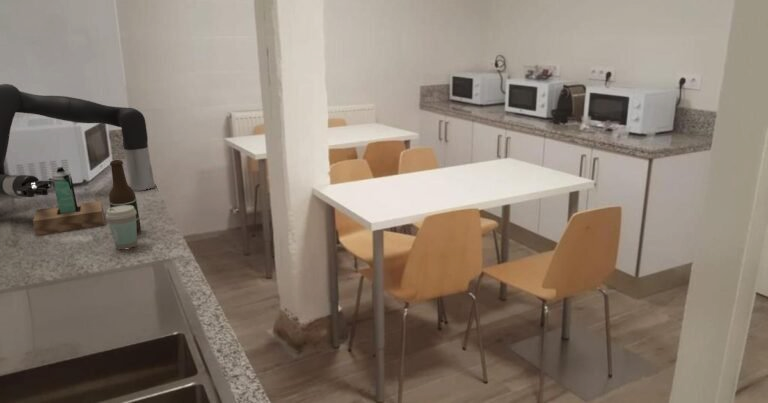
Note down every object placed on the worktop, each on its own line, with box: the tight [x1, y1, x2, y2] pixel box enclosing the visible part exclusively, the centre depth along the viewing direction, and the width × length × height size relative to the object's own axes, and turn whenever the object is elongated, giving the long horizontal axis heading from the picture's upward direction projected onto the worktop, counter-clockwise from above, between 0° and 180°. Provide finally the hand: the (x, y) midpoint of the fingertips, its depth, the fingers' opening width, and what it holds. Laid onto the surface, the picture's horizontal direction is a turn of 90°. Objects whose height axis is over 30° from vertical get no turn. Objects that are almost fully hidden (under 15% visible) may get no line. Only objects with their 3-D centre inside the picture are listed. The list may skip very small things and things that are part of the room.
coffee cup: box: [105, 205, 138, 250], centre depth 169 cm, size 8×8×12 cm
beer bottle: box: [108, 159, 142, 234], centre depth 179 cm, size 8×8×24 cm
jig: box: [32, 200, 105, 236], centre depth 192 cm, size 20×14×5 cm
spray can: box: [52, 166, 78, 214], centre depth 190 cm, size 6×6×20 cm
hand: (57, 188), depth 190 cm, fingers open, 8 cm apart
